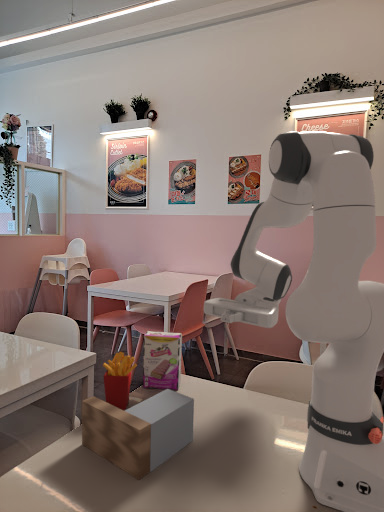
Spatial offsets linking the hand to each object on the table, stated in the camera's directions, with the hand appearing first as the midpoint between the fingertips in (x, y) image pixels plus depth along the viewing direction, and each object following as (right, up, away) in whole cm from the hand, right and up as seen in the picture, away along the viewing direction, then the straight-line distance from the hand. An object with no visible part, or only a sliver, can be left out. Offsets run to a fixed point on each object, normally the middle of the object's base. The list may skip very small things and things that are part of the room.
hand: (225, 319), depth 92 cm
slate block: (-16, -27, -12) cm, 33 cm away
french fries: (-27, -25, +7) cm, 38 cm away
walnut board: (-25, -27, -15) cm, 39 cm away
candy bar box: (-18, -24, +19) cm, 36 cm away
